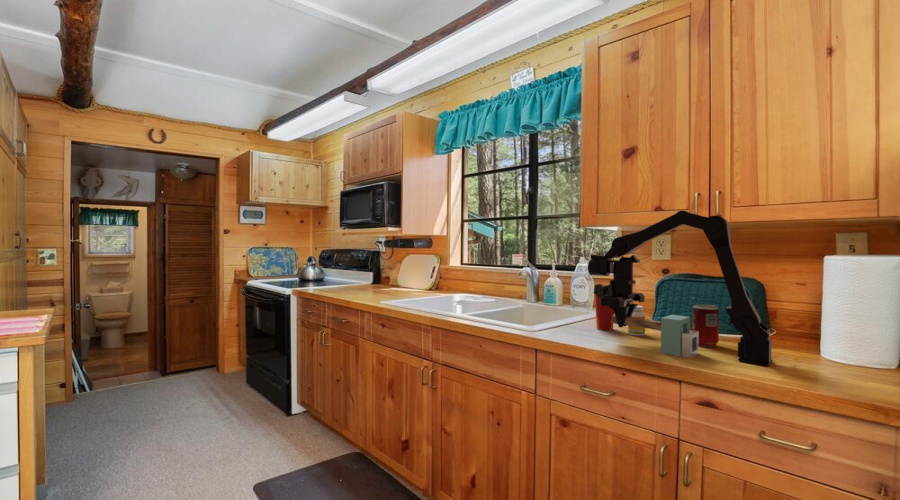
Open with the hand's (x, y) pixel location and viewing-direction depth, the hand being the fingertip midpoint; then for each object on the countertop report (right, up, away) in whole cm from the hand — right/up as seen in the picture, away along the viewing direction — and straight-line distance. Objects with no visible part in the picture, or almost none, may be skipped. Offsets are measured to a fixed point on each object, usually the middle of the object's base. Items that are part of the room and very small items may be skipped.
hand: (622, 326), depth 133 cm
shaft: (+4, +1, -5) cm, 6 cm away
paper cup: (+3, -5, +22) cm, 23 cm away
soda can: (+24, -5, -3) cm, 25 cm away
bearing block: (+11, -5, -11) cm, 16 cm away
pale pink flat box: (+13, -5, -14) cm, 20 cm away
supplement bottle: (+10, -5, +13) cm, 17 cm away
